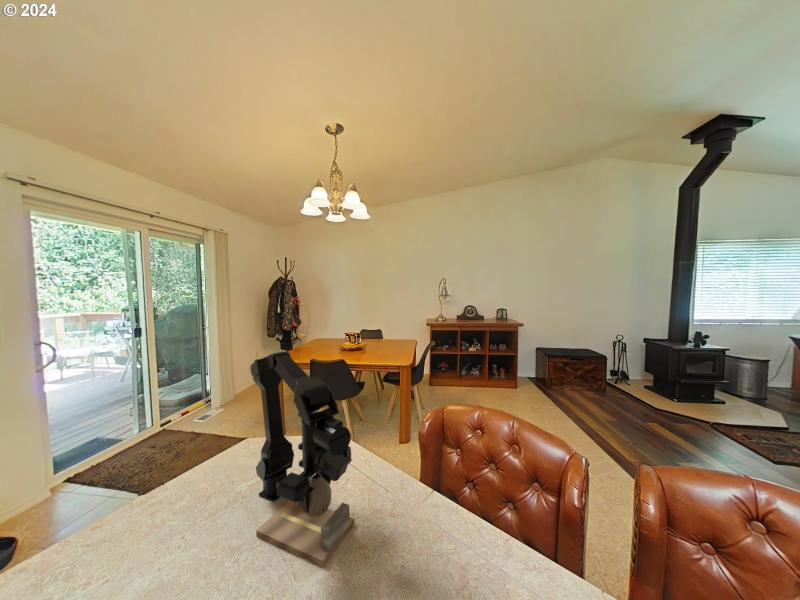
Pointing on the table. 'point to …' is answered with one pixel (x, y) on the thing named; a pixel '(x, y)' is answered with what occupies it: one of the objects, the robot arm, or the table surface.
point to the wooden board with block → (307, 531)
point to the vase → (319, 496)
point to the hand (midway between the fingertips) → (316, 501)
